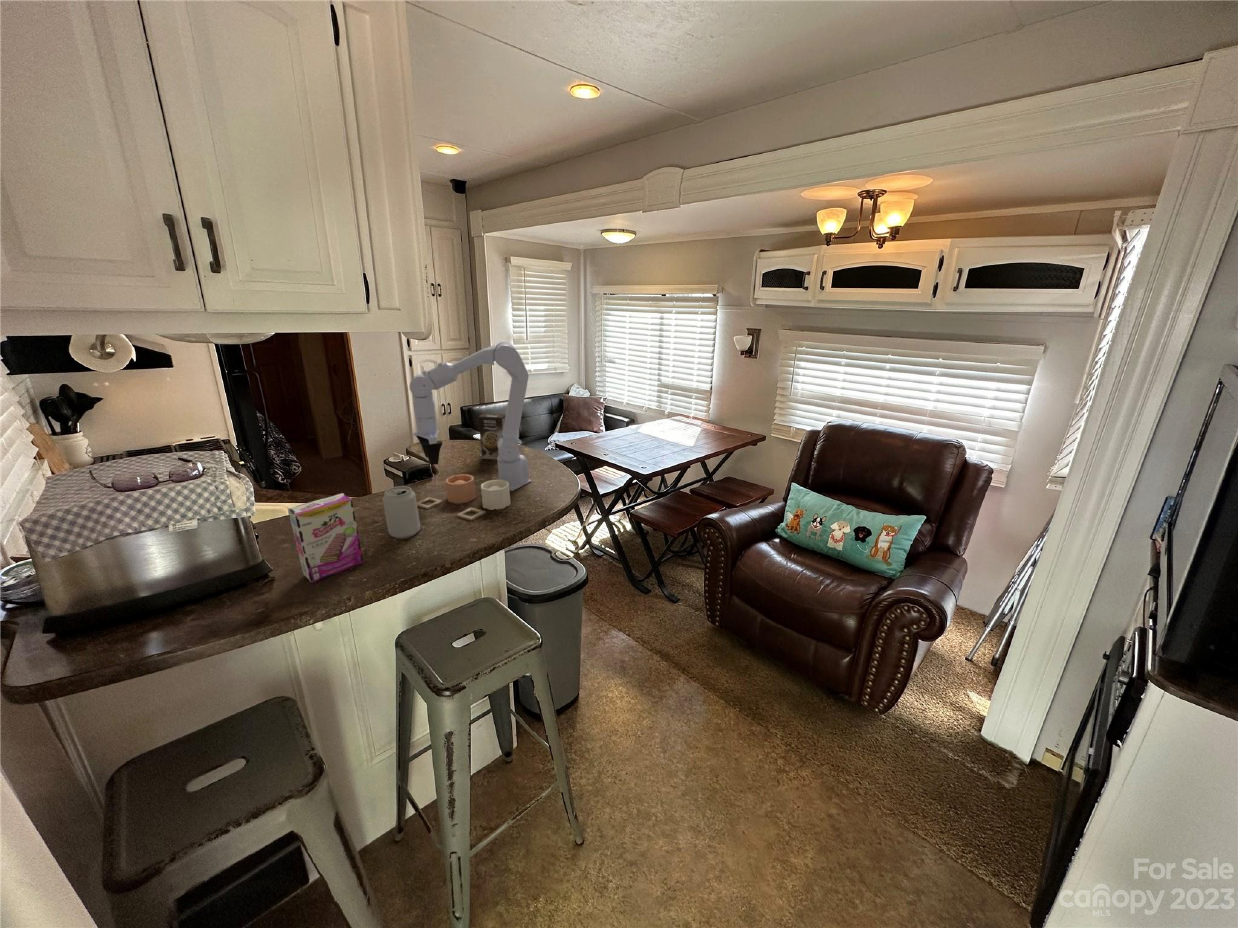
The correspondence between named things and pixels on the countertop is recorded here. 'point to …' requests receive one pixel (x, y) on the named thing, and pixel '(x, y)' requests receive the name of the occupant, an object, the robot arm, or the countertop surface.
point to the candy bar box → (326, 536)
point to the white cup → (495, 494)
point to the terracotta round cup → (460, 489)
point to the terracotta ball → (459, 482)
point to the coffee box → (490, 433)
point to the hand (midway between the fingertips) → (431, 460)
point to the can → (401, 512)
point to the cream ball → (495, 487)
